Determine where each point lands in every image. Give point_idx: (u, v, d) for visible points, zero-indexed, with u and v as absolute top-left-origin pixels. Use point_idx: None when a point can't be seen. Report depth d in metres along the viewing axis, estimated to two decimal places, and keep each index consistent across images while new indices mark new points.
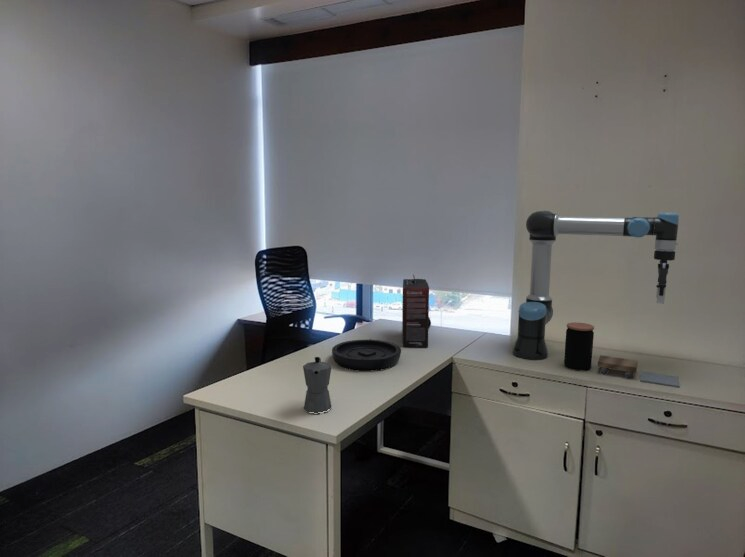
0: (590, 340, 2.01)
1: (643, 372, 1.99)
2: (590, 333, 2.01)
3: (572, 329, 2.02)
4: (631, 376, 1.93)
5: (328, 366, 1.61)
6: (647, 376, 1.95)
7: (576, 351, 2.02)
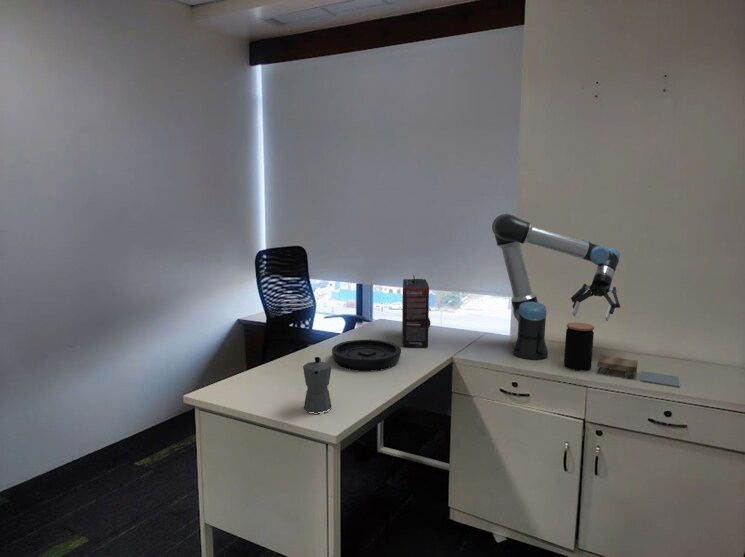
0: (590, 340, 2.01)
1: (643, 372, 1.99)
2: (590, 333, 2.01)
3: (572, 329, 2.02)
4: (631, 376, 1.93)
5: (328, 366, 1.61)
6: (647, 376, 1.95)
7: (576, 351, 2.02)
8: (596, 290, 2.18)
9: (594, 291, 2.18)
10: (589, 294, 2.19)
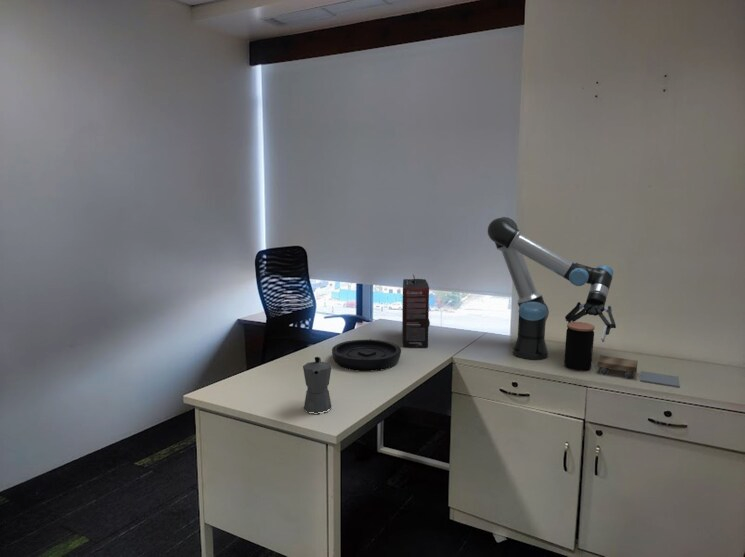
0: (590, 340, 2.01)
1: (643, 372, 1.99)
2: (590, 333, 2.00)
3: (572, 329, 2.02)
4: (631, 376, 1.93)
5: (328, 366, 1.61)
6: (647, 376, 1.95)
7: (577, 352, 2.02)
8: (591, 309, 2.12)
9: (589, 310, 2.12)
10: (583, 313, 2.13)
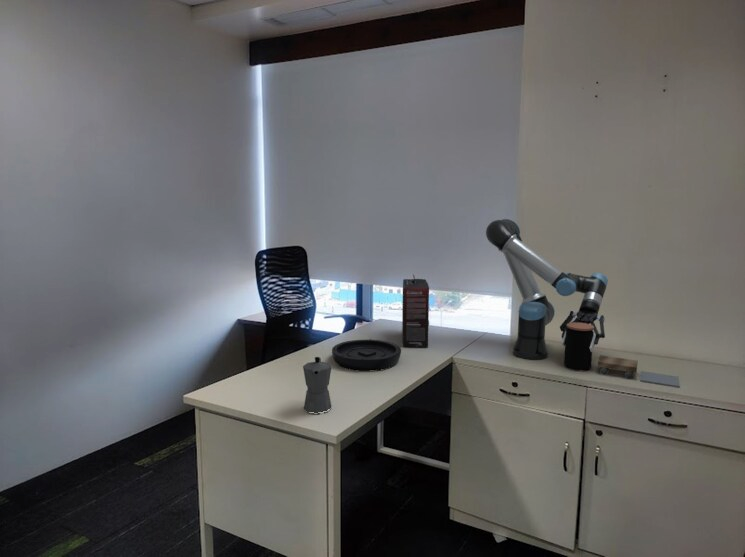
0: (590, 340, 2.01)
1: (643, 372, 1.99)
2: (590, 333, 2.01)
3: (572, 329, 2.02)
4: (631, 376, 1.93)
5: (328, 366, 1.61)
6: (647, 376, 1.95)
7: (576, 352, 2.02)
8: (583, 317, 2.10)
9: (581, 318, 2.10)
10: (577, 322, 2.11)
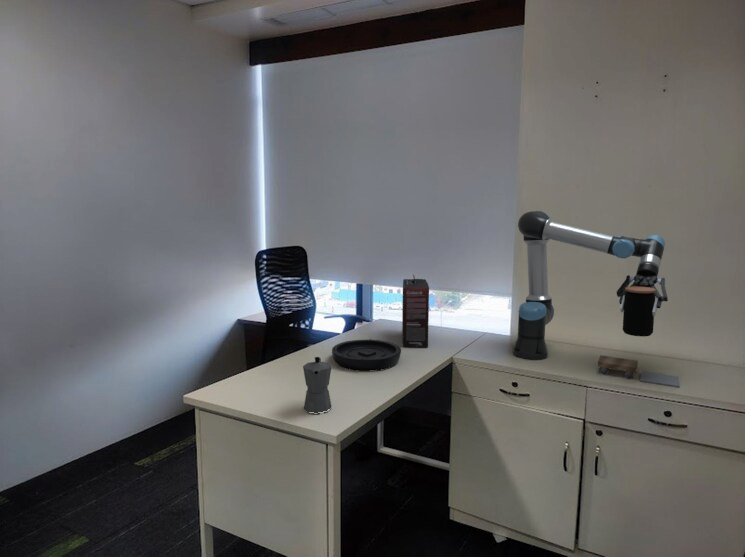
0: (652, 303, 1.88)
1: (643, 372, 1.99)
2: (652, 296, 1.88)
3: (632, 292, 1.89)
4: (631, 376, 1.93)
5: (328, 366, 1.61)
6: (647, 376, 1.95)
7: (638, 316, 1.89)
8: (642, 281, 1.97)
9: (640, 282, 1.97)
10: None
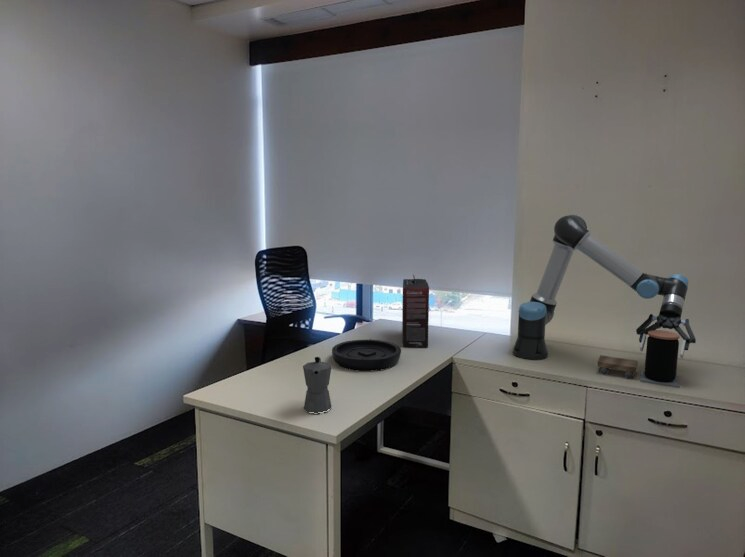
0: (676, 349, 1.86)
1: (643, 372, 1.99)
2: (676, 342, 1.86)
3: (656, 338, 1.87)
4: (631, 376, 1.93)
5: (328, 366, 1.61)
6: None
7: (661, 362, 1.87)
8: (665, 322, 1.95)
9: (663, 323, 1.95)
10: (657, 326, 1.96)
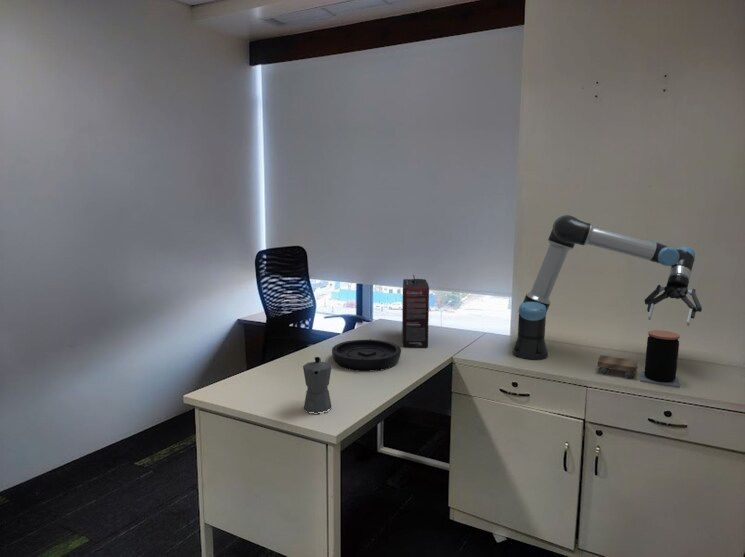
0: (676, 350, 1.86)
1: (643, 372, 1.99)
2: (676, 342, 1.86)
3: (656, 338, 1.88)
4: (631, 376, 1.93)
5: (328, 366, 1.61)
6: None
7: (661, 362, 1.87)
8: (673, 292, 2.03)
9: (670, 293, 2.04)
10: (665, 296, 2.05)
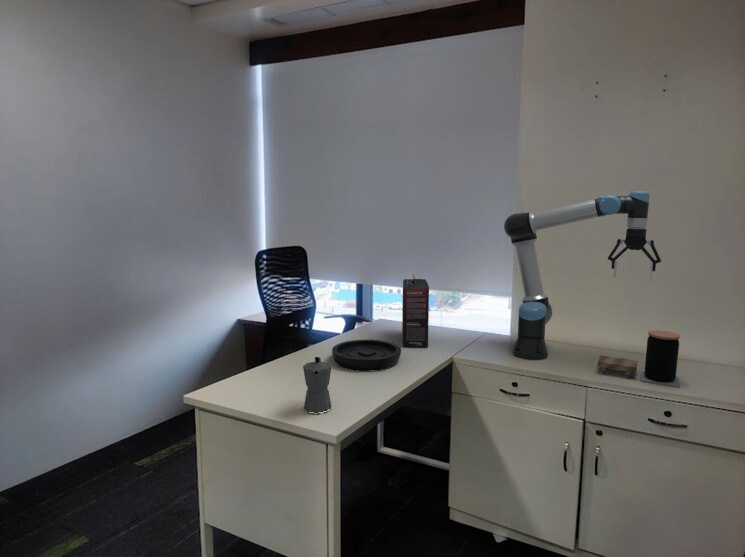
0: (676, 350, 1.86)
1: (643, 372, 1.99)
2: (676, 342, 1.86)
3: (656, 338, 1.88)
4: (631, 376, 1.93)
5: (328, 366, 1.61)
6: None
7: (661, 362, 1.87)
8: (633, 246, 2.09)
9: (631, 247, 2.09)
10: (625, 250, 2.11)
